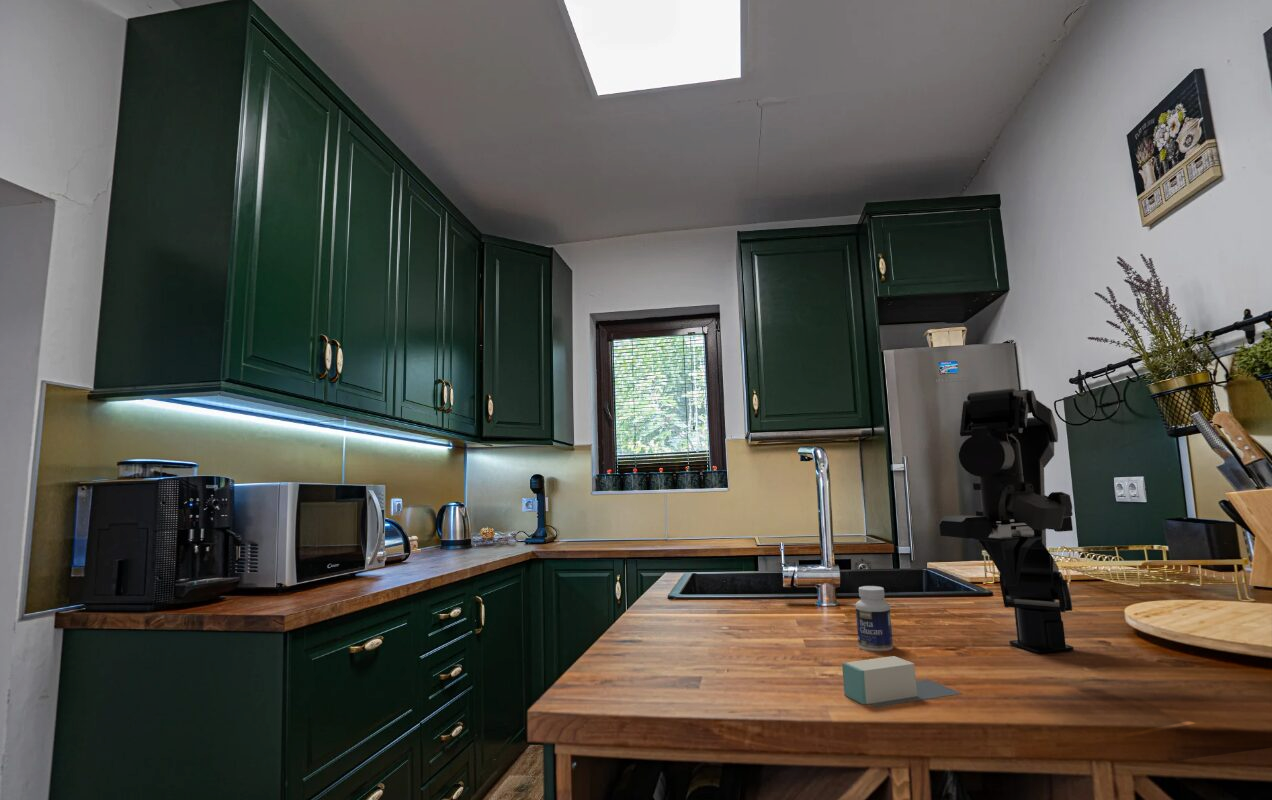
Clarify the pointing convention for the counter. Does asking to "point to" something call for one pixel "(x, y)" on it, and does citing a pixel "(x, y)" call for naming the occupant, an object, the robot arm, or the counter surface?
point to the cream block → (879, 680)
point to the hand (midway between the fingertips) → (1011, 585)
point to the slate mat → (922, 693)
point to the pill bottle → (873, 620)
